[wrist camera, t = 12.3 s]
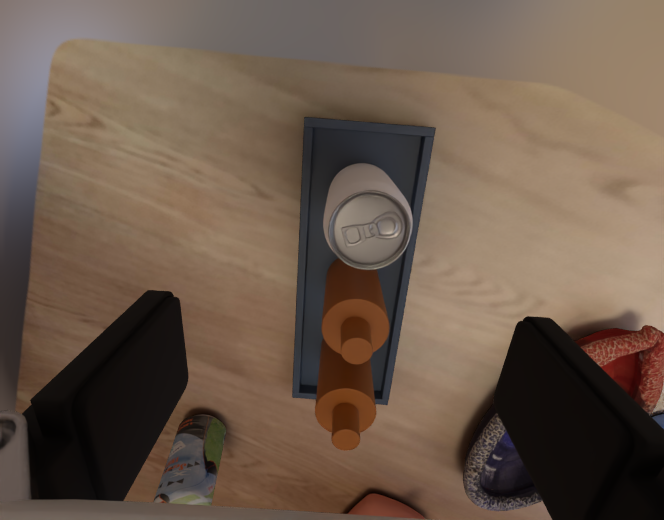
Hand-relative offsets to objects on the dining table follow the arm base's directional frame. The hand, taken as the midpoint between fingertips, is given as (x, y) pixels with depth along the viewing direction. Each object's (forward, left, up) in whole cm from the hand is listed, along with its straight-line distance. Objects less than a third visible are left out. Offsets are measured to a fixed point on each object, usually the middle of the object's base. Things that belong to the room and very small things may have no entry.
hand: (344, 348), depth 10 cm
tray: (+10, +2, -27) cm, 29 cm away
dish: (+26, +28, -27) cm, 47 cm away
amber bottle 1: (+10, +2, -27) cm, 28 cm away
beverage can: (+34, -15, -27) cm, 46 cm away
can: (+1, +2, -27) cm, 27 cm away
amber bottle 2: (+19, +2, -27) cm, 33 cm away
